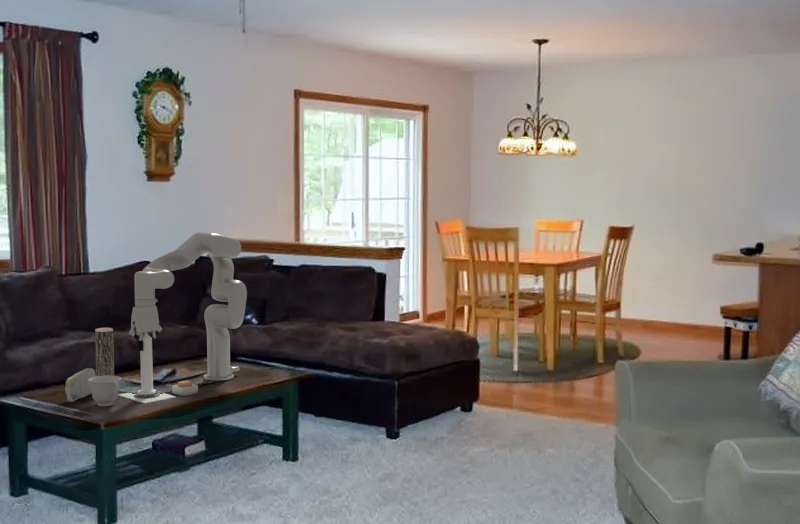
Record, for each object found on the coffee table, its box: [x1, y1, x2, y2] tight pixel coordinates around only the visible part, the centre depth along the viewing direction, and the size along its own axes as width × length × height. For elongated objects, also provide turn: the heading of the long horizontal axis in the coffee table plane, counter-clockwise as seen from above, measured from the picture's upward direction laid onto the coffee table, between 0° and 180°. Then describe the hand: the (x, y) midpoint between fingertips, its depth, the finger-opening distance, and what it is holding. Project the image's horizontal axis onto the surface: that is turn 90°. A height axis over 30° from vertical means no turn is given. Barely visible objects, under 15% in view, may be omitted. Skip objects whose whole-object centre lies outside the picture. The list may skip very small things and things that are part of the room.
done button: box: [177, 379, 193, 388], centre depth 390 cm, size 4×4×2 cm
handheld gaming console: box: [64, 367, 96, 403], centre depth 381 cm, size 11×3×15 cm
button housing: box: [171, 383, 199, 397], centre depth 390 cm, size 7×7×3 cm
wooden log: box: [94, 327, 115, 376], centre depth 392 cm, size 7×7×25 cm
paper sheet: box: [117, 392, 177, 405], centre depth 384 cm, size 14×19×1 cm
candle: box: [137, 332, 157, 395], centre depth 383 cm, size 7×7×25 cm
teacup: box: [88, 375, 122, 407], centre depth 369 cm, size 12×15×10 cm
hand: (146, 349), depth 382 cm, fingers closed on candle, 4 cm apart
